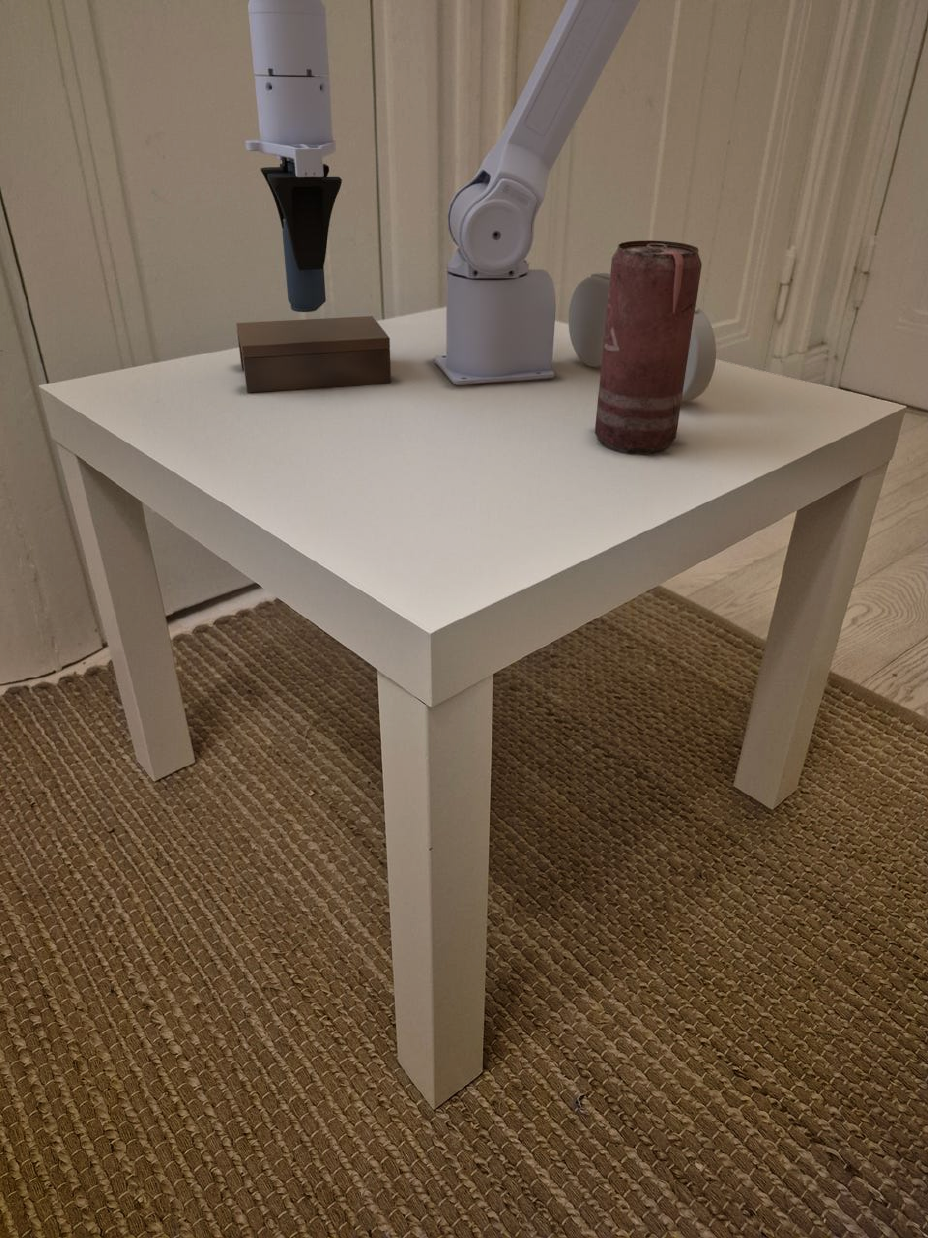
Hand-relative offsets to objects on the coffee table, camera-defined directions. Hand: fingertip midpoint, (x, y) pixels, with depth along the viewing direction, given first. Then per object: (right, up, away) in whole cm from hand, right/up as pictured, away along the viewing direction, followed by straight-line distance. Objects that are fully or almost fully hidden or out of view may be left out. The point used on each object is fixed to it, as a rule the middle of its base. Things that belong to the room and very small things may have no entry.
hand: (306, 262), depth 76 cm
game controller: (+29, -9, +5) cm, 30 cm away
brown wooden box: (0, -8, +5) cm, 10 cm away
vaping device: (0, -3, +2) cm, 4 cm away
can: (+27, -17, -8) cm, 33 cm away
